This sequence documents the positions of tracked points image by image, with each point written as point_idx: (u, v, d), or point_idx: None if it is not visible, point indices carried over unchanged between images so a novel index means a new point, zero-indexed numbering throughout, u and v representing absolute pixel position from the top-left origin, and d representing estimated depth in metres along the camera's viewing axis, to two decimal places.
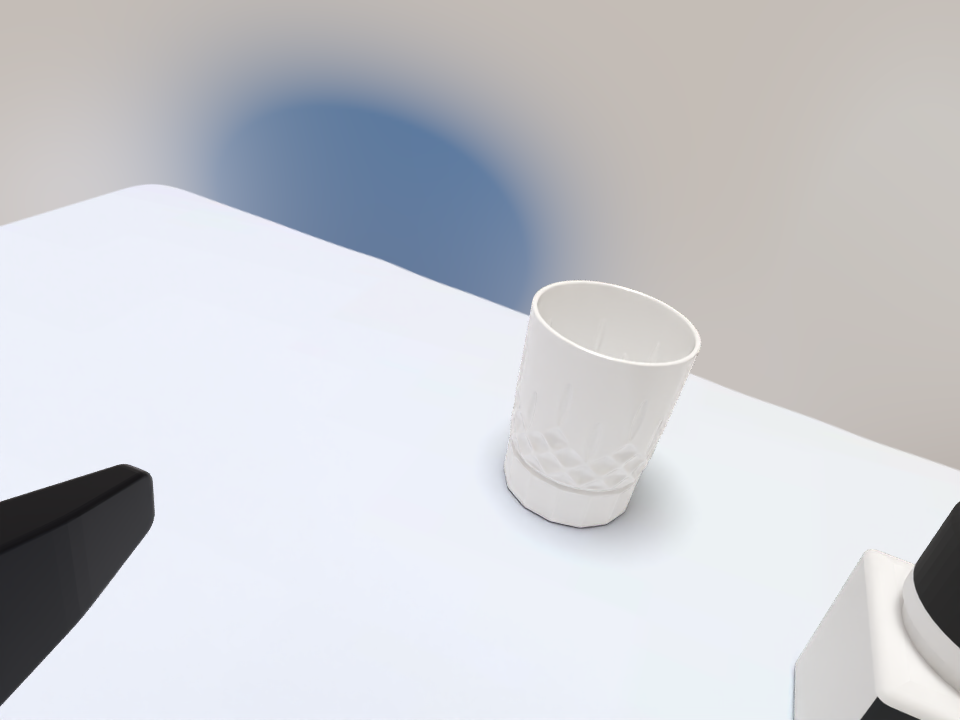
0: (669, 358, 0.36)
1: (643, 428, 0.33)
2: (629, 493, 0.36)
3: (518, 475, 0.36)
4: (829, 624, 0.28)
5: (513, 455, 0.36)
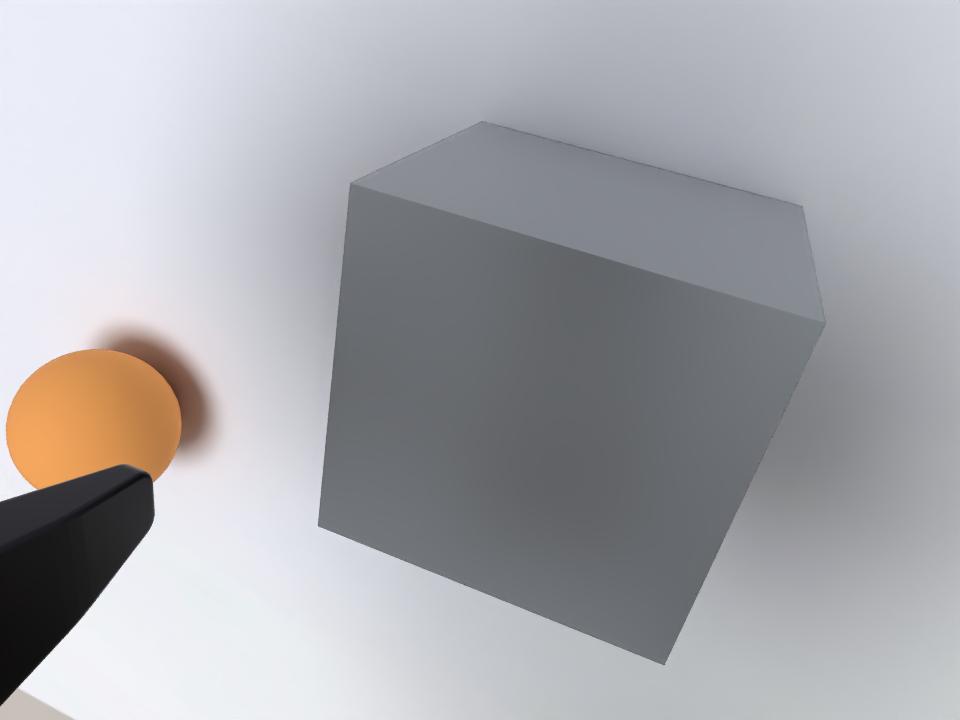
0: None
1: None
2: None
3: None
4: None
5: None
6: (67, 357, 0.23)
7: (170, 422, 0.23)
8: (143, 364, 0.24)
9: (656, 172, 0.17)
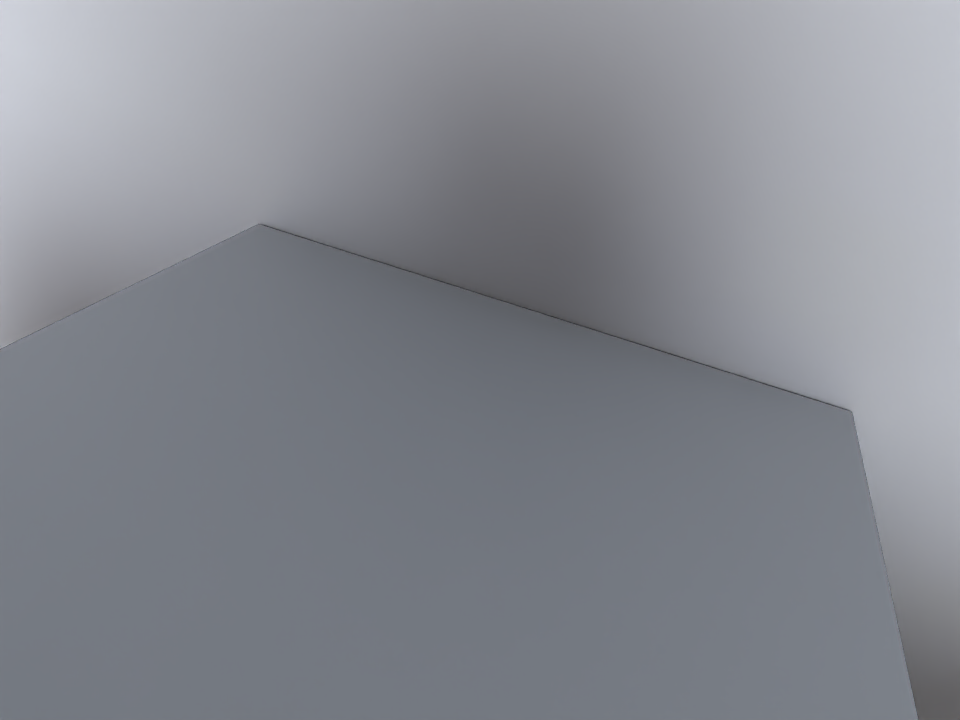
0: None
1: None
2: None
3: None
4: None
5: None
6: None
7: None
8: None
9: (566, 339, 0.09)
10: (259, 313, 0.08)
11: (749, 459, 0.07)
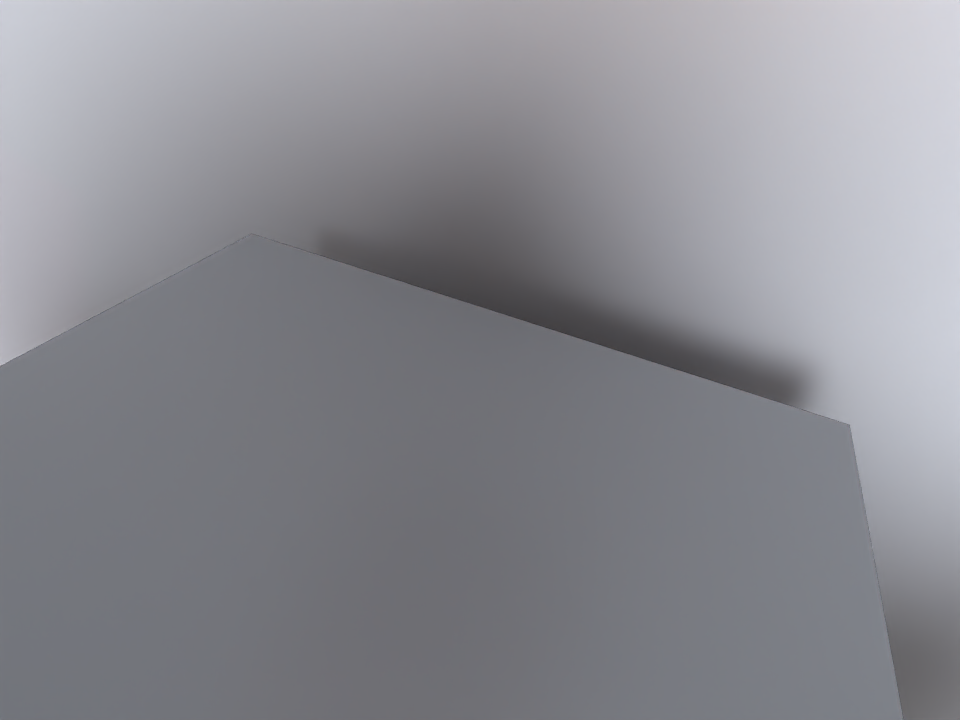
0: None
1: None
2: None
3: None
4: None
5: None
6: None
7: None
8: None
9: (561, 351, 0.08)
10: (250, 329, 0.08)
11: (744, 477, 0.07)
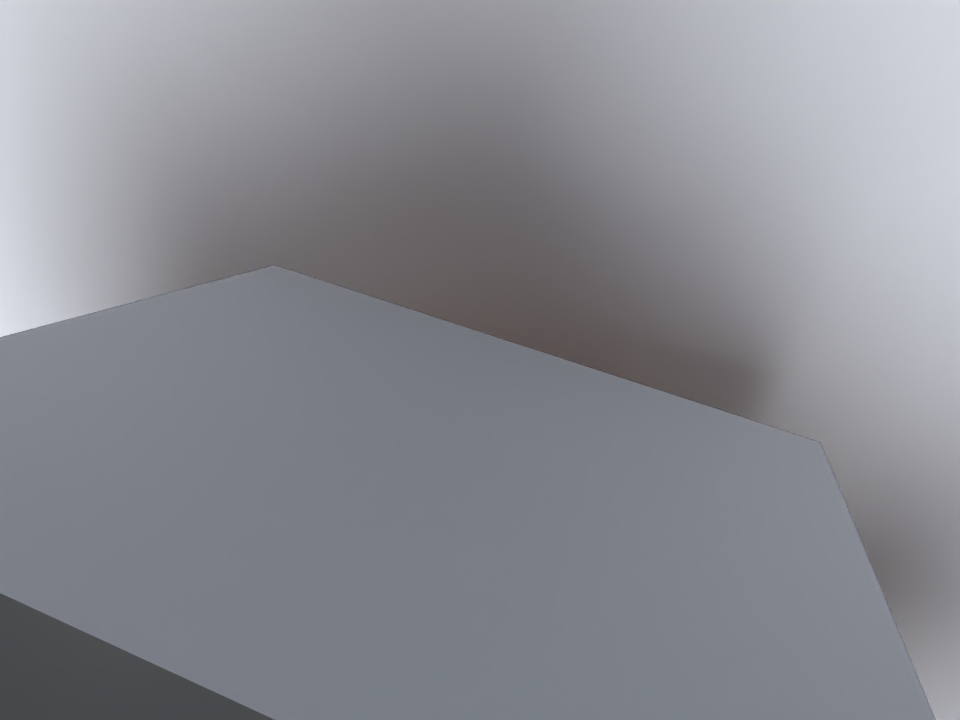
0: None
1: None
2: None
3: None
4: None
5: None
6: None
7: None
8: None
9: (561, 369, 0.09)
10: (283, 324, 0.08)
11: (734, 464, 0.08)
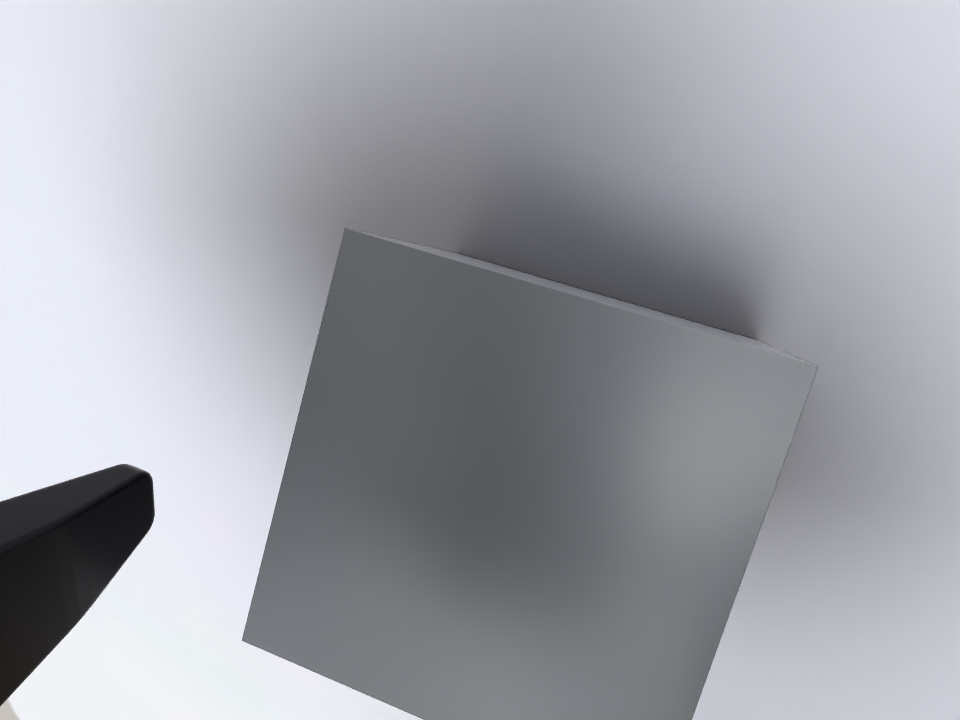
0: None
1: None
2: None
3: None
4: None
5: None
6: None
7: None
8: None
9: (621, 301, 0.17)
10: (486, 263, 0.17)
11: (714, 329, 0.16)
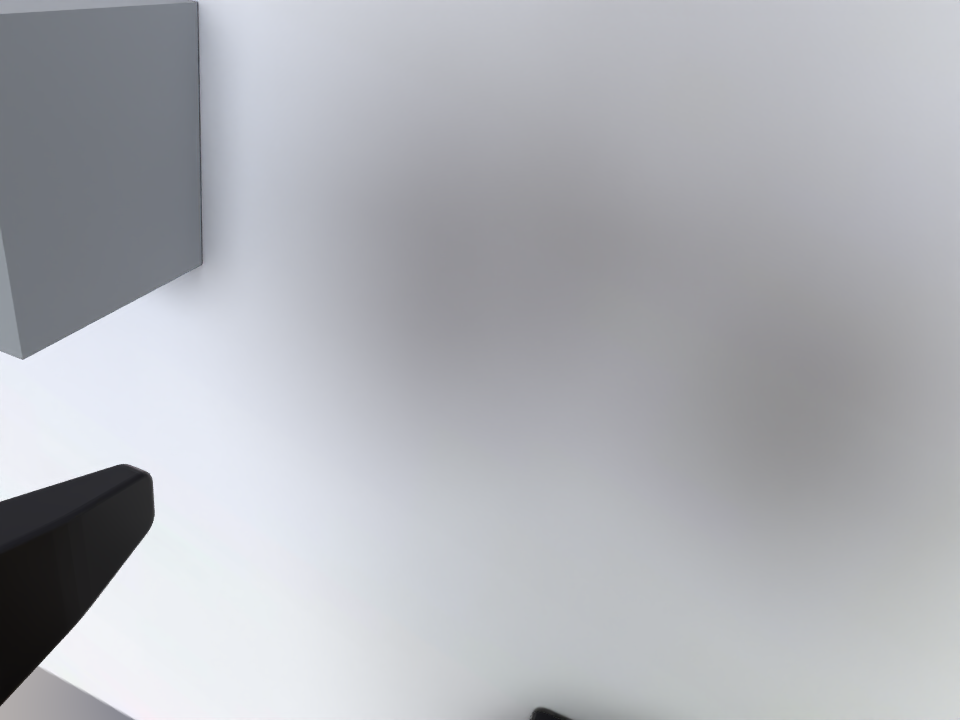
0: None
1: None
2: None
3: None
4: None
5: None
6: None
7: None
8: None
9: None
10: None
11: None
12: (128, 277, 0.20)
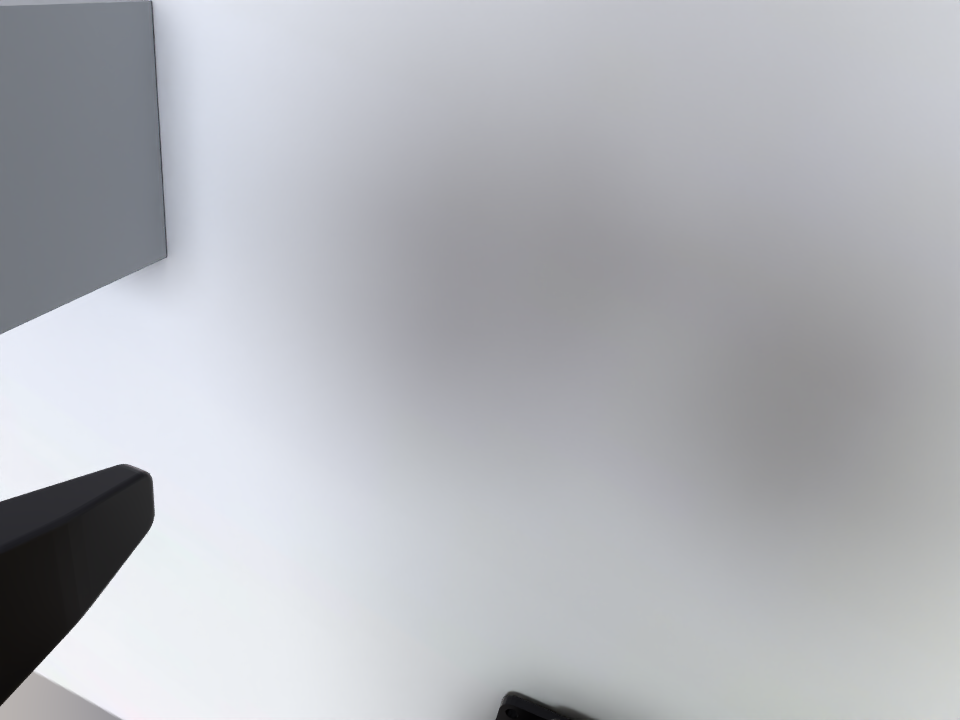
0: None
1: None
2: None
3: None
4: None
5: None
6: None
7: None
8: None
9: None
10: None
11: None
12: (90, 266, 0.21)
